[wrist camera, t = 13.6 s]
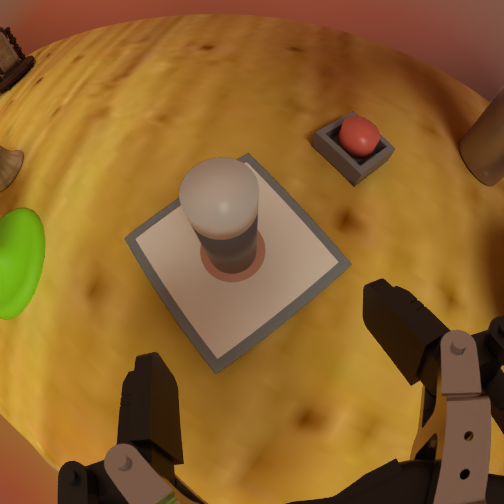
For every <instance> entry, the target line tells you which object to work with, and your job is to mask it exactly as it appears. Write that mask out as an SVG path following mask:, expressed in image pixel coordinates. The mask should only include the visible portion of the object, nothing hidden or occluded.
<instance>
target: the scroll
mask: <svg viewBox="0 0 504 504" xmlns="http://www.w3.org/2000/svg"><path fill="white" fill-rule="evenodd" d="M10 32H11V31H10V28H9V27H7V28H6V29H5V30H4V29H3V28H2V27H0V74H1V75H3V77H0V92H2V91H4V90H5V89H8V90H11V87H10V85H12V84H13V83H14V82H15V81H16V80H17V79H18V78H19V77H21V76H22V75H23V74H24V73H25V71H26V70H27V69H28V68H29V67H30V66H31V67H34V64H33V62H34V57H33V56H28V57H25V55H24V54H23V53H22V51H21V47H18V46H19V45H18V44H17V43H16V38H15V37H13V35H12V34H11V33H10ZM7 35H8V37H7ZM7 38H9V39H10V41H8V39H7ZM11 44H14V47H12V46H11ZM19 58H20V59H21V60H20V61H19ZM18 61H19V62H18Z"/></svg>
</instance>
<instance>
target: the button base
mask: <svg viewBox="0 0 504 504" xmlns="http://www.w3.org/2000/svg"><path fill="white" fill-rule="evenodd" d="M350 116H358V115H357V114H356V113H355V112H351V113H349V114H347V115H345V116H343V117H341V118H340V119H338V120H336V121H334V122H332V123H330V124H329V125H327V126H325V127H323V128H321V129H320V130H318V131H316V132H315V134H314V138H313V142H312V145H311V146H312V147H313V148H315V149H316V150H317V151H318V152H319V153H320V154H321V155H322V156H323V157H324V158H325V159H326V160H327V161H329V162H330V163H331V164H332V165H333V166H334V167H335V168H336V169H337V170H338V171H339V172H340V173H341V174H342V175H343V176H344V177H345V178H346V179H347V180H348V181H349V182H350V183H351V184H352V185H353V186H356V185H357V184H358V183H359V182H361V181H362V180H363V179H365V178H366V177H367V176H368V175H370V174H371V173H372V172H374V171H375V170H376V169H377V168H379V167H380V166H381V165H382V164H384V163H385V162H386V161H388V159H389V158H390V156H391V155H392V153H393V152H394V150H395V148H394V147H393V146H392V145H391V144H390V143H389V142H388V141H387V140H386V139H385V138H383V137H382V136H381V135H380V140H379V142H378V143H377V145H376V147H375V149H374V151H373V152H372V154H371V155H370V156H369V157H367V158H364V159H358V158H354V157H351V156H349V155H348V154H347V153H346V152H345V151H344V150H343V149H342V148H341V147H340V146H339V144H338V141H337V138H338V135H339V132H340V129H341V127H342V124H343V121H344V120H345V119H346V118H347V117H350Z"/></svg>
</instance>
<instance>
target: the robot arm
mask: <svg viewBox="0 0 504 504" xmlns="http://www.w3.org/2000/svg"><path fill="white" fill-rule="evenodd" d="M459 149H460V153H461V156H462V158H463V160H464V162H465V163H466V165H467V167H468V168H469V169H470V171H471V172H472V173H473V174H474V176H475V177H476V178H477V179H479V180H480V181H481V182H482V183H484V184H486V185H488V186H493V185H495V184H496V183H497V182H498V181H500V180H501V179H502V178H503V177H504V85H503V87H502V88H501V89H500V91H499V92H498V93H497V95H496V96H495V98H494V99H493V101H492V102H491V103H490V104H489V105H488V107H487V108H486V109H485V111H484V112H483V113H482V115H481V116H480V117H479V118H478V120H477V121H476V122H475V123H474V125H473V126H472V127H471V128H470V129H469V131H468V132H467V133H466V134H465V136H464V137H463V138H462V139H461V140H460V143H459ZM363 320H364V323H365V325H366V327H367V329H368V330H369V331H370V333H371V334H372V335H373V336H374V338H375V339H376V340H377V342H378V343H379V344H380V345H381V347H382V348H383V349H384V351H385V352H386V353H387V355H388V356H389V357H390V358H391V360H392V361H393V362H394V364H395V365H396V366H397V368H398V369H399V370H400V372H401V373H402V374H403V376H404V377H405V378H406V380H407V381H408V382H409V384H410V385H411V386H412V385H413V384H415V383H416V382H418V381H421V382H422V383H423V387H422V397H421V408H420V417H419V425H418V431H417V435H416V438H415V440H414V443H413V446H412V450H411V455H410V460H408V461H403V462H399V463H398V461H397V459H394V460H392V461H390V462H388V463H387V464H385V465H383V466H381V467H379V468H377V469H375V470H373V471H371V472H369V473H367V474H365V475H364V476H362V477H361V478H360V479H358V480H357V481H356V482H354V483H353V484H351V485H350V486H349V487H347V488H346V489H344V490H343V491H341V492H340V493H338V494H337V495H335V496H333V497H329V498H323V499H315V500H306V501H295V502H290V503H287V504H504V476H502V475H495V474H488V471H489V461H490V446H491V415H492V417H493V418H494V420H495V422H496V423H497V425H498V426H499V428H500V429H501V431H502V432H503V434H504V373H503V371H502V370H501V369H500V368H501V367H502V365H504V317H496V318H494V319H493V320H492V321H491V323H490V325H489V328H488V330H486V331H483V332H480V333H477V334H474V335H470V334H468V333H466V332H464V331H460V330H453V331H450V330H449V329H448V328H447V327H446V326H445V325H444V324H443V323H442V322H441V321H440V320H439V319H438V318H437V317H436V316H435V315H434V314H433V313H432V312H431V311H430V310H429V309H427V308H426V307H424V305H423V304H422V303H421V302H420V301H419V300H417V298H416V297H415V296H413V295H412V294H411V293H410V292H409V291H407V290H405V289H403V288H401V287H398V286H395V287H392V286H391V285H390V284H389V283H388V282H387V281H386V280H385V279H379V280H376V281H374V282H371V283H369V284H367V285H365V286H364V289H363ZM121 395H122V397H121V403H120V405H121V407H120V412H119V423H118V437H117V444H116V445H115V446H114V447H112V448H111V449H110V450H109V451H108V452H107V454H106V456H105V460H103V461H100V462H97V463H94V464H91V465H88V466H84V465H82V464H80V463H79V462H76V461H69V462H67V463H65V464H64V465H63V466H62V467H61V469H60V471H59V476H58V504H208V503H207V502H206V501H204V500H203V499H202V498H201V497H200V496H199V495H197V494H196V493H195V492H194V491H193V490H192V489H191V488H190V487H188V486H187V485H186V484H185V483H184V482H183V481H182V480H181V479H180V478H179V477H178V476H177V475H176V474H175V472H174V465H178V464H184V461H183V451H182V441H181V429H180V415H179V398H178V387H177V383H176V380H175V378H174V376H173V374H172V373H171V372H170V370H169V369H168V367H167V366H166V364H165V363H164V362H163V360H162V359H161V357H160V356H159V354H158V353H157V352H152V353H148V354H144V355H139V356H137V357H136V361H135V369H134V371H130V372H128V374H127V376H126V378H125V380H124V382H123V386H122V394H121Z"/></svg>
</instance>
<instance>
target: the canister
mask: <svg viewBox="0 0 504 504" xmlns="http://www.w3.org/2000/svg"><path fill="white" fill-rule="evenodd" d="M179 199H180V204H181V206H182V209H183V210H184V212H185V214H186V216H187V218H188V220H189V222H190V224H191V226H192V228H193V229H194V231H195V233H196V235H197V237H198V239H199V241H200V242H201V244H202V246H203V248H204V250H205V252H206V253H207V255H208V257H209V259H210V261H211V263H212V264H213V265H214V266H215V267H216V268H217V269H218V270H220V271H221V272H224V273H228V274H236V273H240V272H242V271H245V270H246V269H247V268H249V267H250V266H251V264H252V263H253V262H254V260H255V257H256V250H257V225H258V199H259V185H258V181H257V178H256V176H255V174H254V173H253V171H252V170H251V169H250V168H249V167H248V166H247V165H245V164H244V163H242V162H240V161H238V160H235V159H231V158H223V157H220V158H212V159H208V160H205V161H203V162H201V163H199V164H197V165H196V166H195V167H193V168H192V169H191V170H190V171H189V172H188V173H187V174H186V176H185V177H184V179H183V181H182V183H181V186H180V190H179Z"/></svg>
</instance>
